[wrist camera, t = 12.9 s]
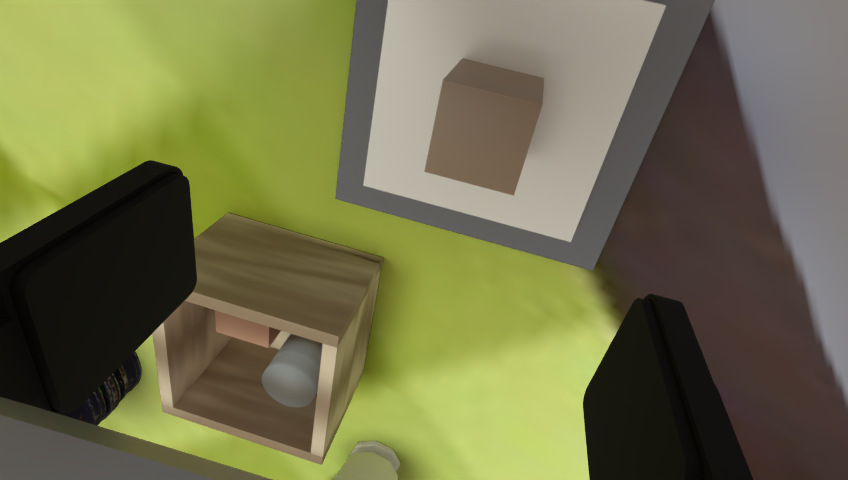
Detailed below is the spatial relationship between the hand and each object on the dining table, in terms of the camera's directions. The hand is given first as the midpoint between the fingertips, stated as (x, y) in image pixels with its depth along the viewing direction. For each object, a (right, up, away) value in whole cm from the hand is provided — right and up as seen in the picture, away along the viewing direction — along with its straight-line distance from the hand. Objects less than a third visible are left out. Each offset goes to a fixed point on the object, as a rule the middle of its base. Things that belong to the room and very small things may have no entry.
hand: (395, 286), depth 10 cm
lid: (+4, +8, +15) cm, 18 cm away
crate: (-8, -3, +25) cm, 27 cm away
